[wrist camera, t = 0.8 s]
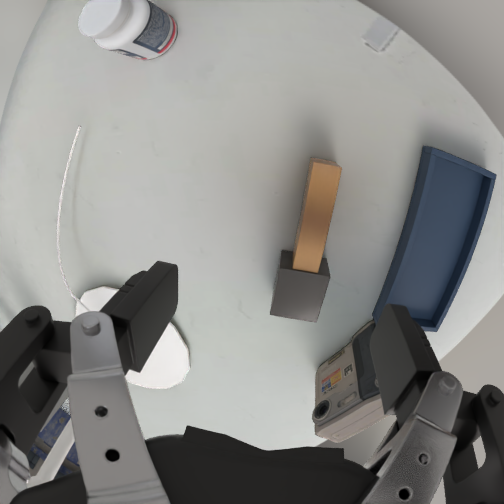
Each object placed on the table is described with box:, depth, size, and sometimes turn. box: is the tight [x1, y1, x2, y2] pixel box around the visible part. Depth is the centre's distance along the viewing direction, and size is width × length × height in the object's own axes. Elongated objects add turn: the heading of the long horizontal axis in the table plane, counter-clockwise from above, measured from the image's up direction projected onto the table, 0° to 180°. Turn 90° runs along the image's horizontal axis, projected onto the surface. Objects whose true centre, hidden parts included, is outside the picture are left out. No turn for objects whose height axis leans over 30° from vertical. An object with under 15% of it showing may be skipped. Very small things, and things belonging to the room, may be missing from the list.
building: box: [27, 408, 81, 480], centre depth 49 cm, size 23×24×23 cm
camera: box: [312, 320, 389, 442], centre depth 27 cm, size 11×6×10 cm, turn 142°
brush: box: [270, 157, 342, 322], centre depth 25 cm, size 14×4×4 cm, turn 173°
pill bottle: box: [78, 0, 177, 60], centre depth 16 cm, size 5×5×9 cm
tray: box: [372, 145, 496, 332], centre depth 24 cm, size 18×8×2 cm, turn 173°
